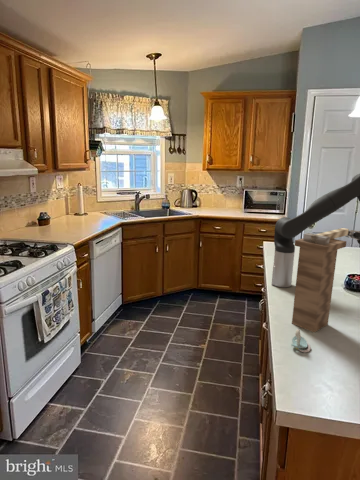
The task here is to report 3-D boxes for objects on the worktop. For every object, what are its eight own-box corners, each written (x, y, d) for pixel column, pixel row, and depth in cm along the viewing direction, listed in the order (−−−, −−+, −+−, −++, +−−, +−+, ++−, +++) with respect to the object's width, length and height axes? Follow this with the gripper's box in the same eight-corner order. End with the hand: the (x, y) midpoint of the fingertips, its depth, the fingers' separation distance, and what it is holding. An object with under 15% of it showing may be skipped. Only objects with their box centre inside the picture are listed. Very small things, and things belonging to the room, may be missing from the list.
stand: (316, 335, 122) (327, 246, 115) (286, 322, 131) (295, 240, 123) (335, 323, 131) (346, 241, 124) (306, 312, 139) (314, 235, 132)
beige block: (324, 244, 117) (325, 238, 117) (303, 240, 123) (303, 233, 123) (355, 236, 133) (356, 230, 132) (334, 232, 139) (335, 226, 138)
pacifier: (310, 345, 116) (292, 340, 118) (313, 328, 114) (294, 323, 116) (309, 356, 109) (290, 351, 111) (312, 338, 107) (292, 333, 110)
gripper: (355, 228, 159) (338, 221, 150) (388, 233, 148) (372, 225, 138) (351, 244, 160) (334, 238, 150) (384, 250, 148) (367, 243, 138)
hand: (352, 232), depth 144 cm, fingers open, 8 cm apart
